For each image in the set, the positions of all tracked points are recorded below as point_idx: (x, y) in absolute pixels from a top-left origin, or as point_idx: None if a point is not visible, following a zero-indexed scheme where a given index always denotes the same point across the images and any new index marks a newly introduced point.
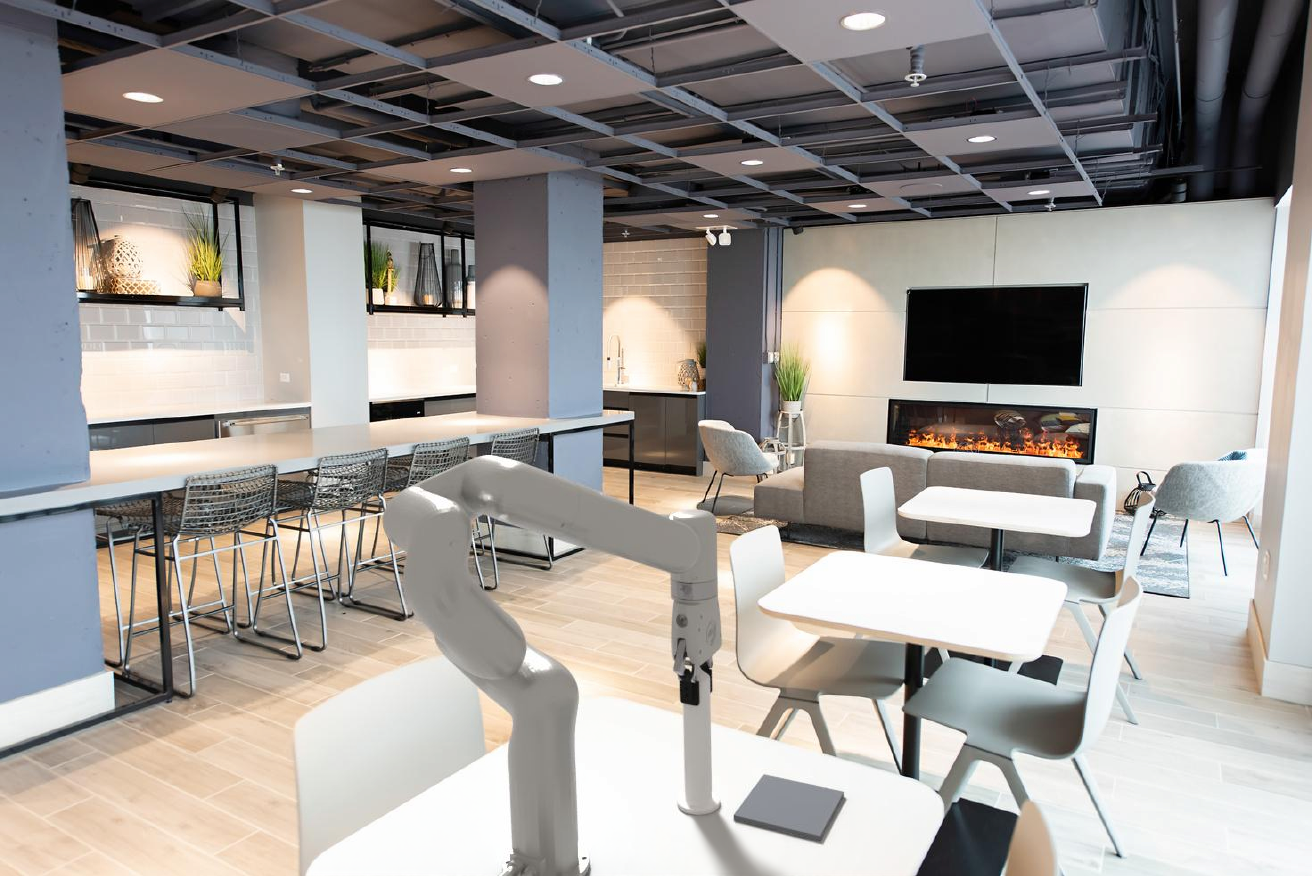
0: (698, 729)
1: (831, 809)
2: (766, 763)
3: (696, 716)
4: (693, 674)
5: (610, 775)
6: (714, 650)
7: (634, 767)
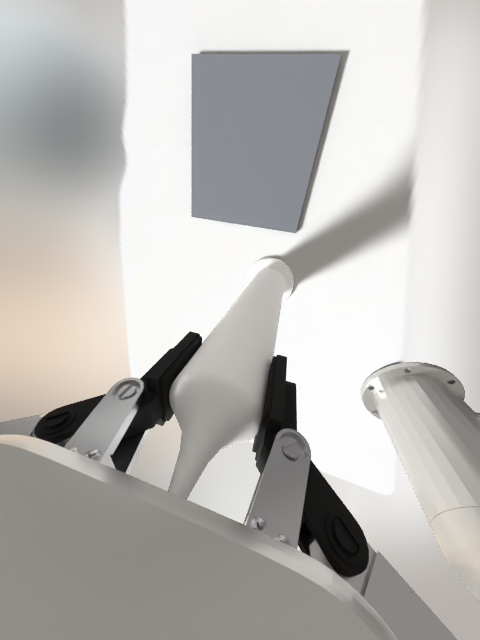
0: (275, 321)
1: (251, 60)
2: (162, 222)
3: (274, 340)
4: (306, 484)
5: None
6: (64, 513)
7: None
